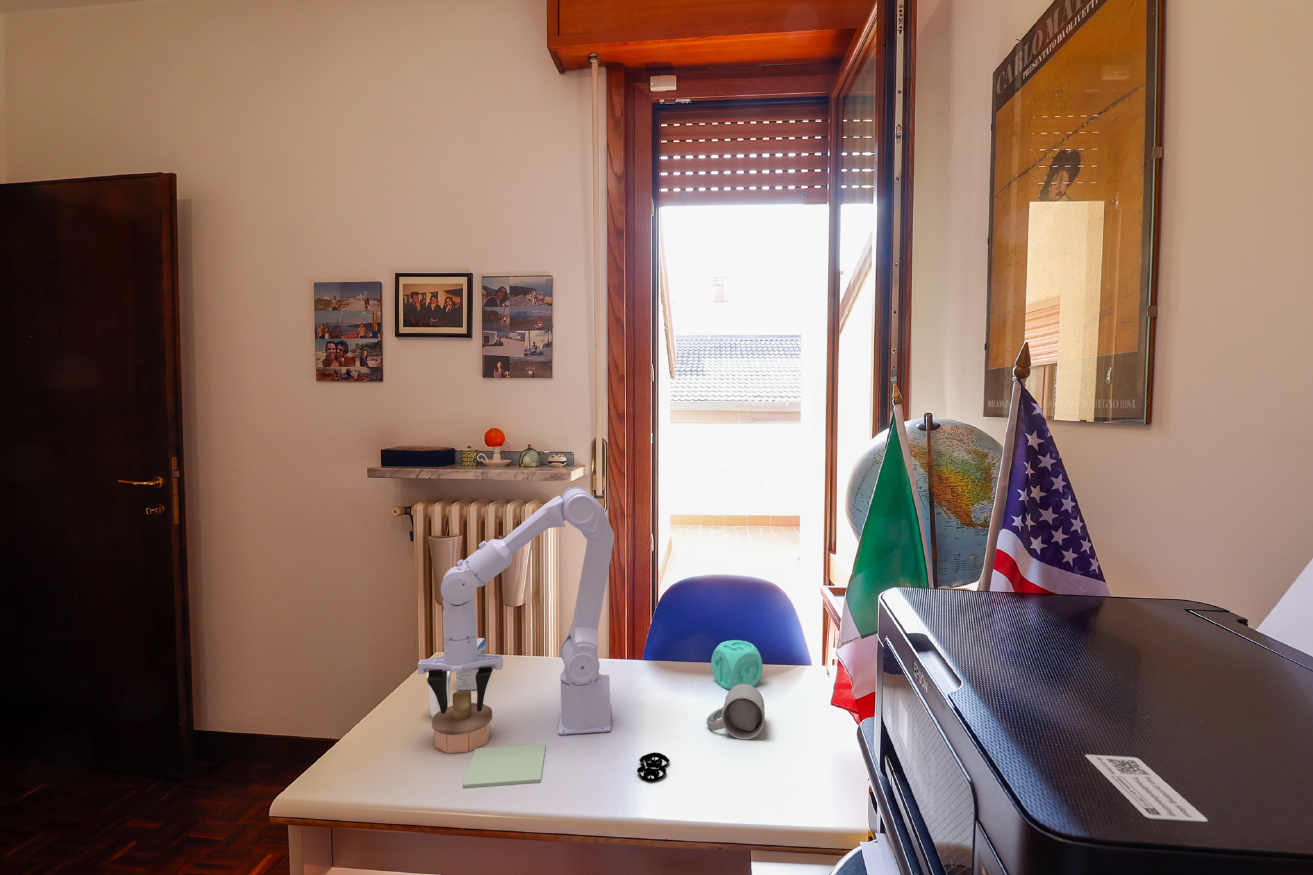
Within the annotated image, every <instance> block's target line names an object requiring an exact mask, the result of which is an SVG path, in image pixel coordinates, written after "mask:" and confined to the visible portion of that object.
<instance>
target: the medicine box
mask: <svg viewBox="0 0 1313 875" xmlns="http://www.w3.org/2000/svg"><path fill="white" fill-rule="evenodd" d="M486 646H487V642H486V638H484V637H477V654H484V655H487V647H486ZM478 670H479V669H478ZM478 670H463V671H460V672H455V680H456V681H455V682H456V691H461V690H468V691H477V685H476V677H475V676H476V674H477V672H478Z"/></svg>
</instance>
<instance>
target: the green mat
mask: <svg viewBox="0 0 1313 875" xmlns="http://www.w3.org/2000/svg"><path fill="white" fill-rule="evenodd" d="M546 744H547V743H539V744H538V743H536V744H523V745H510V746H509V745H507V746H493V747H490V746H489V747H478V748H476V749H474V752H473V755H472V758H471V760H470V762H469V766H468V769H467V772H466V774H465V777H464V780H463V784H462V789H465V788H467V789H468V788H478V787H479V788H480V787H481V788H482V787H494V786H505V785H507V786H509V785H522V784H534V783H542V775H543V770H544V761H545V755H546V747H547V746H546Z"/></svg>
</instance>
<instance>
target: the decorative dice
mask: <svg viewBox="0 0 1313 875" xmlns="http://www.w3.org/2000/svg"><path fill="white" fill-rule="evenodd" d="M761 656H762V655H761V654H760V652H759V650H758V648H757V647H756V646H755V645H754V644H753V643H751V642H748V641H745V640H740V639H732V640H726V641H723V642H720V643H719V644H718V645H717V647H716V648H715V649H714V651H713V653H712V656H711V660H710V661H711V663H710V664H711V670H712V674H713V677H714V679H715V681H716V682H717V683H718V685H719V686H720V687H721V688H723V689H725V690H729V691H730V690H731V689H732V688H733V687H735V686H737V685H739V684H748V685H751V686H753V687H755V686H756V685H757V684H758V683H759V681H760V679H761V677H762V675H763V668H764V666H763V659H762V657H761Z"/></svg>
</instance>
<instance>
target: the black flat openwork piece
mask: <svg viewBox="0 0 1313 875" xmlns="http://www.w3.org/2000/svg"><path fill="white" fill-rule="evenodd" d="M638 760H639V762H640V764H641V766H639V767H638V768H637V769H636V772H637V774H638V775H639V776H640V778H641V779H642V780H643V781H646V782H650V783H654V782H657V781H659V780H661V779H663V778H664V777H665V775H666V773H667V769H666V767H668V764H669V763H670V759H669V757H667V756H666V755H665V754H662V753H660V752H650V753H647V754H644V755H641V757H640V758H639V759H638ZM648 761H651V762H648ZM663 761H664V764H663ZM660 772H661V773H662V774H661V775H660ZM652 777H653V778H652Z"/></svg>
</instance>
